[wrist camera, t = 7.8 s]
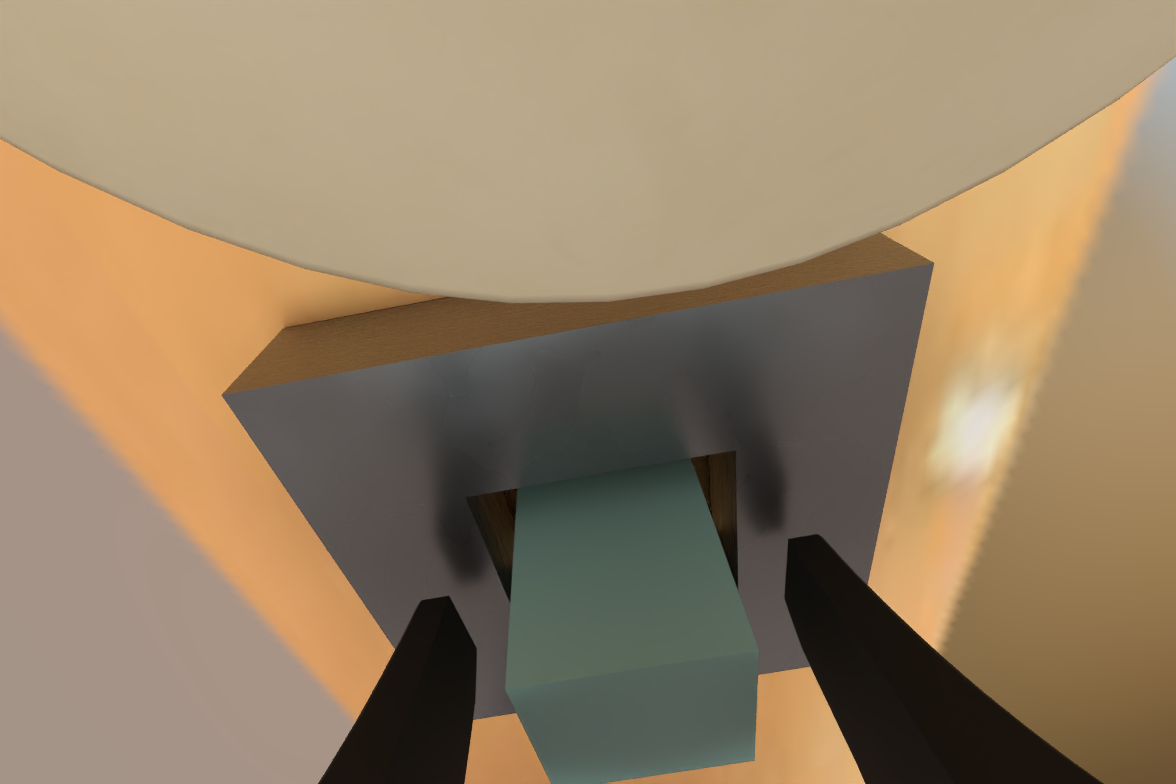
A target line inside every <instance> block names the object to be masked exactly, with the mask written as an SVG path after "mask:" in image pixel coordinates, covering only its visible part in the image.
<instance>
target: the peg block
mask: <svg viewBox="0 0 1176 784" xmlns="http://www.w3.org/2000/svg"><path fill="white" fill-rule="evenodd" d="M758 659H759V649H758V646H757V643H756V641H755V638H754V635H753V632H752V629H751V626H750V624H749V621H748V618H747V615H746V612H745V610H744V607H743V604H742V601H741V598H740V595H739V593H738V590H737V587H736V584H735V581H734V578H733V576H732V573H731V570H730V567H729V564H728V562H727V559H726V556H725V553H724V550H723V547H722V545H721V542H720V539H719V536H718V533H717V530H716V528H715V525H714V522H713V519H712V516H711V513H710V511H709V508H708V505H707V502H706V499H705V497H704V494H703V491H702V488H701V485H700V482H699V480H698V477H697V474H696V471H695V468H694V465H693V463H692V460H691V458H688V459H682V460H677V461H671V462H665V463H659V464H654V465H648V466H642V467H636V468H631V469H625V470H619V471H613V472H608V473H602V474H596V475H590V476H585V477H579V478H573V479H568V480H562V481H556V482H550V483H545V484H539V485H533V486H527V487H522V488H517V503H516V520H515V536H514V552H513V568H512V585H511V601H510V617H509V634H508V650H507V666H506V682H505V691H506V693H507V695H508V697H509V699H510V701H511V703H512V705H513V707H514V709H515V711H516V713H517V715H518V717H519V719H520V721H521V723H522V725H523V727H524V729H525V731H526V733H527V735H528V737H529V739H530V741H531V743H532V745H533V747H534V749H535V751H536V753H537V756H538V758H539V760H540V762H541V764H542V766H543V768H544V770H545V772H546V774H547V776H548V778H549V780H550V782H551V784H601V783H608V782H614V781H621V780H628V779H634V778H641V777H648V776H655V775H661V774H668V773H675V772H681V771H688V770H695V769H701V768H708V767H715V766H722V765H728V764H735V763H742V762H748V761H754V759H755V734H756V709H757V684H758Z"/></svg>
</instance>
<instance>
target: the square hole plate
mask: <svg viewBox="0 0 1176 784" xmlns="http://www.w3.org/2000/svg"><path fill="white" fill-rule="evenodd" d="M933 266H934V263H933V262H931V261H930V260H928V259H926V258H924V257H922V256H921V255H919V254H917V253H915V252H913V251H912V250H910V249H908V248H906V247H904V246H903V245H901V244H899V243H897V242H896V241H894V240H892V239H890V238H888V237H887V236H885V235H883V234H881V233H878V234H875V235H873V236H870V237H867V238H865V239H862V240H860V241H857V242H854V243H852V244H849V245H847V246H844V247H842V248H839V249H836V250H834V251H831V252H829V253H826V254H823V255H821V256H818V257H816V258H813V259H810V260H808V261H805V262H803V263H800V264H796V265H792V266H789V267H785V268H781V269H777V270H773V271H769V272H766V273H762V274H758V275H754V276H750V277H746V278H743V279H739V280H735V281H731V282H727V283H724V284H720V285H716V286H712V287H708V288H704V289H698V290H690V291H683V292H676V293H669V294H661V295H654V296H647V297H639V298H632V299H625V300H618V301H610V302H560V303H505V302H496V301H486V300H477V299H467V298H458V297H448V298H443V299H438V300H432V301H427V302H422V303H416V304H411V305H406V306H401V307H395V308H390V309H385V310H379V311H374V312H369V313H364V314H358V315H353V316H348V317H342V318H337V319H332V320H327V321H321V322H316V323H311V324H306V325H300V326H295V327H290V328H284V329H282V330H281V331H280V333H279V334H278V335H277V336H276V337H275V338H274V339H273V340H272V341H271V342H270V343H269V344H268V345H267V347H266V348H265V349H264V350H263V351H262V352H261V353H260V354H259V355H258V356H257V357H256V358H255V359H254V361H253V362H252V363H251V364H250V365H249V366H248V367H247V368H246V369H245V370H244V371H243V372H242V373H241V375H240V376H239V377H238V378H237V379H236V380H235V381H234V382H233V383H232V384H231V385H230V386H229V387H228V389H227V390H226V391H225V392H224V393H223V394H222V396H223V398H224V399H225V401H226V402H227V404H228V405H229V407H230V408H231V410H232V411H233V412H234V414H235V415H236V417H237V418H238V420H239V421H240V423H241V424H242V426H243V427H244V429H245V430H246V432H247V433H248V434H249V436H250V437H251V439H252V440H253V442H254V443H255V445H256V446H257V448H258V449H259V451H260V452H261V453H262V455H263V456H264V458H265V459H266V461H267V462H268V464H269V465H270V467H271V468H272V470H273V471H274V473H275V474H276V475H277V477H278V478H279V480H280V481H281V483H282V484H283V486H284V487H285V489H286V490H287V492H288V493H289V494H290V496H291V497H292V499H293V500H294V502H295V503H296V505H297V506H298V508H299V509H300V511H301V512H302V514H303V515H304V516H305V518H306V519H307V521H308V522H309V524H310V525H311V527H312V528H313V530H314V531H315V533H316V534H317V535H318V537H319V538H320V540H321V541H322V543H323V544H324V546H325V547H326V549H327V550H328V552H329V553H330V555H331V556H332V557H333V559H334V560H335V562H336V563H337V565H338V566H339V568H340V569H341V571H342V572H343V574H344V575H345V576H346V578H347V579H348V581H349V582H350V584H351V585H352V587H353V588H354V590H355V591H356V593H357V594H358V596H359V597H360V598H361V600H362V601H363V603H364V604H365V606H366V607H367V609H368V610H369V612H370V613H371V615H372V616H373V617H374V619H375V620H376V622H377V623H378V625H379V626H380V628H381V629H382V631H383V632H384V634H385V635H386V637H387V638H388V639H389V641H390V642H391V644H392V645H393V647H394V648H395V649H396V647H397V645H398V643H399V641H400V639H401V637H402V635H403V633H404V631H405V630H406V628H407V626H408V624H409V622H410V620H411V618H412V616H413V614H414V612H415V610H416V608H417V606H418V604H419V603H420V601H421V600H426V599H432V598H438V597H444V596H450V598H451V600H452V602H453V604H454V606H455V608H456V609H457V611H458V613H459V615H460V617H461V619H462V621H463V623H464V625H465V627H466V629H467V630H468V632H469V634H470V636H471V638H472V640H473V642H474V644H475V646H476V648H477V672H476V700H475V708H474V716H473V720H475V719H481V718H487V717H494V716H500V715H506V714H513V713H516V711H515V709H514V707H513V705H512V703H511V701H510V699H509V697H508V695H507V693H506V691H505V682H506V666H507V650H508V634H509V617H510V601H511V585H512V568H513V552H514V536H515V523H514V520H513V517H512V514H511V512H510V509H509V506H508V503H507V501H506V498H505V495H504V492H503V491H504V490H510V489H516V488H522V487H527V486H533V485H539V484H545V483H550V482H556V481H562V480H568V479H573V478H579V477H585V476H590V475H596V474H602V473H608V472H613V471H619V470H625V469H631V468H636V467H642V466H648V465H654V464H659V463H665V462H671V461H677V460H682V459H688V458H694V457H699V456H705V455H708V460H709V479H710V497H711V515H712V519H713V522H714V525H715V528H716V530H717V533H718V536H719V539H720V542H721V545H722V547H723V550H724V553H725V556H726V559H727V562H728V564H729V567H730V570H731V573H732V576H733V578H734V581H735V584H736V587H737V590H738V593H739V595H740V598H741V601H742V604H743V607H744V610H745V612H746V615H747V618H748V621H749V624H750V626H751V629H752V632H753V635H754V638H755V641H756V643H757V646H758V649H759V659H758V675H760V674H766V673H772V672H779V671H785V670H791V669H798V668H804V667H810V664H809V662H808V660H807V658H806V656H805V654H804V652H803V649H802V647H801V644H800V642H799V639H798V636H797V633H796V631H795V628H794V625H793V622H792V619H791V616H790V614H789V611H788V608H787V605H786V602H785V599H784V595H785V579H786V564H787V548H788V539H790V538H796V537H802V536H808V535H814V534H819V535H820V536H822V537H823V538H824V539H825V540H826V541H827V543H828V544H829V545H830V546H831V547H832V548H833V549H834V550H835V551H836V552H837V554H838V555H839V556H840V557H841V558H842V559H843V560H844V561H845V562H846V563H847V564H848V565H849V566H850V567H851V569H852V570H853V571H854V572H855V573H856V574H857V575H858V576H859V577H860V578H861V579H862V580H863V581H864V582H865V583H866V584H867V585H868V580H869V575H870V570H871V565H872V560H873V556H874V551H875V546H876V541H877V536H878V531H879V527H880V522H881V517H882V512H883V507H884V502H885V498H886V493H887V488H888V483H889V478H890V473H891V469H892V464H893V459H894V454H895V449H896V445H897V440H898V435H899V430H900V425H901V420H902V416H903V411H904V406H905V401H906V396H907V391H908V387H909V382H910V377H911V372H912V367H913V362H914V358H915V353H916V348H917V343H918V338H919V333H920V329H921V324H922V319H923V314H924V309H925V304H926V300H927V295H928V290H929V285H930V280H931V275H932V271H933Z"/></svg>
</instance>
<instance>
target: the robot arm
mask: <svg viewBox="0 0 1176 784" xmlns="http://www.w3.org/2000/svg"><path fill="white" fill-rule="evenodd" d="M784 599H785V602H786V605H787V608H788V611H789V614H790V616H791V619H792V622H793V625H794V628H795V631H796V633H797V636H798V639H799V642H800V644H801V647H802V649H803V652H804V654H805V656H806V658H807V660H808V662H809V664H810V667H811V669H812V671H813V673H814V675H815V677H816V679H817V681H818V684H819V686H820V688H821V690H822V692H823V694H824V696H825V698H826V700H827V702H828V704H829V707H830V709H831V711H832V713H833V715H834V717H835V719H836V721H837V723H838V725H839V728H840V730H841V732H842V734H843V736H844V738H845V740H846V742H847V744H848V746H849V748H850V751H851V753H852V755H853V757H854V759H855V761H856V763H857V765H858V768H859V770H860V772H861V774H862V777H863V779H864V781H865V784H1103V783H1102V782H1100V781H1099V780H1098V779H1096V778H1095V777H1093V776H1092V775H1090V774H1089V773H1088V772H1086V771H1085V770H1084V769H1082V768H1081V767H1079V766H1078V765H1077V764H1075V763H1074V762H1072V761H1071V760H1070V759H1068V758H1067V757H1066V756H1064V755H1063V754H1062V753H1060V752H1059V751H1058V750H1056V749H1055V748H1054V747H1052V746H1051V745H1050V744H1049V743H1047V742H1046V741H1045V740H1043V739H1042V738H1040V737H1039V736H1038V735H1037V734H1035V733H1034V732H1033V731H1032V730H1030V729H1029V728H1028V727H1026V726H1025V725H1023V723H1021V722H1020V721H1019V720H1017V719H1016V718H1015V717H1014V716H1012V715H1011V714H1010V713H1009V712H1007V711H1006V710H1005V709H1004V708H1002V707H1001V706H1000V705H999V704H997V703H996V702H995V701H994V700H993V699H991V698H990V697H989V696H988V695H986V694H985V693H984V692H983V691H982V690H981V689H979V688H978V687H977V686H975V684H973V683H972V682H971V681H970V680H969V679H968V678H966V677H965V676H964V675H963V674H962V673H961V672H959V671H958V670H957V669H956V668H955V667H953V665H952V664H950V663H949V662H948V661H947V660H946V659H945V658H944V657H942V656H941V655H940V654H939V653H938V652H937V651H936V650H935V649H933V648H932V647H931V646H930V645H929V644H928V643H927V642H926V641H925V640H924V639H923V638H921V637H920V636H919V635H918V634H917V633H916V632H915V631H914V630H913V629H912V628H911V627H910V626H909V625H908V624H907V623H906V622H905V621H904V620H902V619H901V618H900V617H899V616H898V615H897V614H896V613H895V612H894V611H893V610H892V609H891V608H890V607H889V606H888V605H887V604H886V603H885V602H884V601H883V600H882V599H881V598H880V597H879V596H878V595H877V594H876V593H875V592H874V591H873V590H872V589H871V588H870V587H869V586H868V585H867V584H866V583H865V582H864V581H863V580H862V579H861V578H860V577H859V576H858V575H857V574H856V573H855V572H854V571H853V570H852V569H851V567H850V566H849V565H848V564H847V563H846V562H845V561H844V560H843V559H842V558H841V557H840V556H839V555H838V554H837V552H836V551H835V550H834V549H833V548H832V547H831V546H830V545H829V544H828V543H827V541H826V540H825V539H824V538H823V537H822V536H820V535H819V534H814V535H808V536H802V537H796V538H790V539H788V548H787V564H786V579H785V595H784ZM476 672H477V648H476V646H475V644H474V642H473V640H472V638H471V636H470V634H469V632H468V630H467V629H466V627H465V625H464V623H463V621H462V619H461V617H460V615H459V613H458V611H457V609H456V608H455V606H454V604H453V602H452V600H451V598H450V596H444V597H438V598H432V599H426V600H421V601H420V603H419V604H418V606H417V608H416V610H415V612H414V614H413V616H412V618H411V620H410V622H409V624H408V626H407V628H406V630H405V631H404V633H403V635H402V637H401V639H400V641H399V643H398V645H397V647H396V649H395V651H394V653H393V655H392V657H391V659H390V661H389V662H388V664H387V666H386V668H385V670H384V672H383V674H382V676H381V677H380V679H379V681H378V683H377V685H376V686H375V688H374V690H373V692H372V694H371V696H370V697H369V699H368V701H367V703H366V705H365V706H364V708H363V710H362V712H361V714H360V715H359V717H358V719H357V721H356V722H355V724H354V726H353V727H352V729H351V731H350V732H349V734H348V736H347V737H346V739H345V741H344V742H343V744H342V746H341V747H340V749H339V751H338V752H337V754H336V756H335V757H334V759H333V761H332V762H331V764H330V766H329V767H328V769H327V770H326V772H325V774H324V775H323V777H322V778H321V780H320V781H319V783H318V784H464V782H465V774H466V767H467V760H468V753H469V746H470V738H471V731H472V723H473V716H474V708H475V700H476Z"/></svg>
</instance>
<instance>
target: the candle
mask: <svg viewBox="0 0 1176 784" xmlns="http://www.w3.org/2000/svg"><path fill="white" fill-rule="evenodd" d="M1175 56H1176V0H0V139H2V140H3V141H5V142H7V143H9V144H11V145H12V146H14V147H16V148H18V149H20V150H21V151H23V152H25V153H27V154H29V155H30V156H32V157H34V158H36V159H38V160H39V161H41V162H43V163H45V164H47V165H48V166H50V167H52V168H54V169H56V170H58V171H59V172H62V173H64V174H66V175H68V176H71V177H73V178H75V179H77V180H79V181H82V182H84V183H86V184H88V185H91V186H93V187H95V188H97V189H100V190H102V191H104V192H106V193H108V194H111V195H113V196H115V197H117V198H120V199H122V200H124V201H126V202H129V203H131V204H133V205H135V206H137V207H140V208H142V209H144V210H146V211H149V212H151V213H153V214H155V215H158V216H160V217H162V218H164V219H166V220H169V221H171V222H173V223H175V224H178V225H180V226H182V227H184V228H187V229H189V230H192V231H195V232H197V233H200V234H203V235H206V236H209V237H212V238H215V239H218V240H221V241H224V242H227V243H230V244H233V245H236V246H239V247H242V248H245V249H248V250H251V251H254V252H257V253H260V254H263V255H266V256H268V257H271V258H274V259H277V260H280V261H283V262H286V263H289V264H292V265H295V266H298V267H301V268H304V269H308V270H312V271H317V272H321V273H326V274H330V275H335V276H339V277H344V278H348V279H353V280H357V281H362V282H366V283H371V284H375V285H380V286H384V287H389V288H393V289H398V290H402V291H407V292H411V293H420V294H429V295H439V296H448V297H458V298H467V299H477V300H486V301H496V302H505V303H560V302H610V301H618V300H625V299H632V298H639V297H647V296H654V295H661V294H669V293H676V292H683V291H690V290H698V289H704V288H708V287H712V286H716V285H720V284H724V283H727V282H731V281H735V280H739V279H743V278H746V277H750V276H754V275H758V274H762V273H766V272H769V271H773V270H777V269H781V268H785V267H789V266H792V265H796V264H800V263H803V262H805V261H808V260H810V259H813V258H816V257H818V256H821V255H823V254H826V253H829V252H831V251H834V250H836V249H839V248H842V247H844V246H847V245H849V244H852V243H854V242H857V241H860V240H862V239H865V238H867V237H870V236H873V235H875V234H878V233H880V232H883V231H886V230H888V229H891V228H893V227H896V226H899V225H901V224H903V223H905V222H907V221H909V220H911V219H912V218H914V217H916V216H918V215H920V214H922V213H924V212H926V211H928V210H930V209H932V208H934V207H936V206H938V205H940V204H942V203H944V202H946V201H948V200H950V199H952V198H954V197H956V196H958V195H960V194H962V193H963V192H965V191H967V190H969V189H971V188H973V187H975V186H977V185H979V184H981V183H983V182H985V181H987V180H989V179H991V178H993V177H995V176H997V175H999V174H1001V173H1003V172H1005V171H1006V170H1008V169H1009V168H1011V167H1012V166H1014V165H1016V164H1017V163H1019V162H1020V161H1022V160H1024V159H1025V158H1027V157H1028V156H1030V155H1031V154H1033V153H1035V152H1036V151H1038V150H1039V149H1041V148H1043V147H1044V146H1046V145H1047V144H1049V143H1050V142H1052V141H1054V140H1055V139H1057V138H1058V137H1060V136H1062V135H1063V134H1065V133H1066V132H1068V131H1069V130H1071V129H1073V128H1074V127H1076V126H1077V125H1079V124H1080V123H1082V122H1084V121H1085V120H1087V119H1088V118H1090V117H1092V116H1093V115H1095V114H1096V113H1098V112H1099V111H1101V110H1103V109H1104V108H1106V107H1107V106H1109V105H1111V104H1112V103H1114V102H1115V101H1117V100H1118V99H1120V98H1121V97H1122V96H1124V95H1125V94H1126V93H1128V92H1129V91H1130V90H1132V89H1133V88H1134V87H1136V86H1137V85H1138V84H1140V83H1141V82H1142V81H1144V80H1145V79H1146V78H1148V77H1149V76H1150V75H1152V74H1153V73H1154V72H1156V71H1157V70H1158V69H1160V68H1161V67H1162V66H1164V65H1165V64H1166V63H1167V62H1169V61H1170V60H1171V59H1173V58H1174V57H1175Z"/></svg>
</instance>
